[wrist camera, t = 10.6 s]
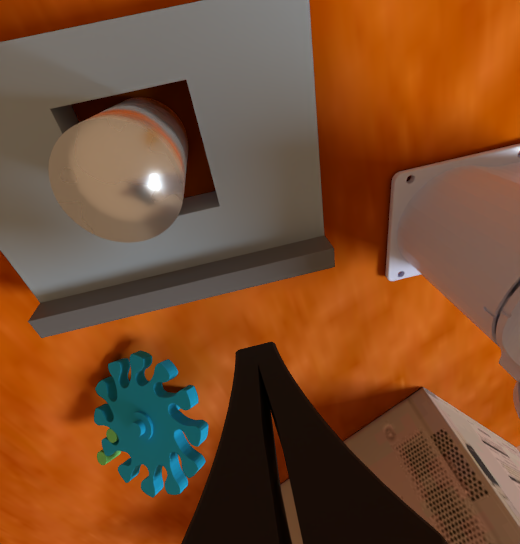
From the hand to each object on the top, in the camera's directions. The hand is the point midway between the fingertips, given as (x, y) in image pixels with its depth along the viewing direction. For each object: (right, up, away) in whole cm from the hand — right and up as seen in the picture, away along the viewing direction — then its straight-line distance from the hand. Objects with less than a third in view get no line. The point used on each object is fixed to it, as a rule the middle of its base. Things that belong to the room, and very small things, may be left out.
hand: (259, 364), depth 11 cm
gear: (-9, -5, +14) cm, 18 cm away
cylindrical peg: (-6, +10, +4) cm, 12 cm away
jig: (-5, +9, +5) cm, 11 cm away
